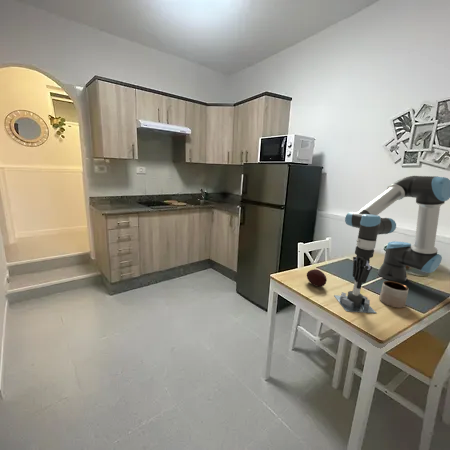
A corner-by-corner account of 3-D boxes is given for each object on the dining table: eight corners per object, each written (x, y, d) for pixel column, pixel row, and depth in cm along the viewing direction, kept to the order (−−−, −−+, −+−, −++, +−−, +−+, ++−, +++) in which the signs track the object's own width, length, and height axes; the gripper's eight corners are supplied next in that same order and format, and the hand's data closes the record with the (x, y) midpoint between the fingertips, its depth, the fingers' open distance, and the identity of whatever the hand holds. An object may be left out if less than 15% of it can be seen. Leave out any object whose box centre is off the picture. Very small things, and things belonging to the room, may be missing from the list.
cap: (356, 300, 121) (358, 291, 119) (363, 307, 114) (365, 297, 113) (344, 299, 121) (346, 290, 120) (350, 306, 114) (352, 296, 113)
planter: (395, 310, 114) (400, 292, 112) (374, 298, 124) (378, 282, 121) (409, 306, 118) (414, 288, 116) (387, 295, 128) (391, 279, 126)
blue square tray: (360, 297, 124) (361, 291, 123) (376, 313, 111) (377, 307, 110) (333, 295, 125) (334, 290, 124) (346, 311, 111) (347, 304, 110)
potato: (319, 291, 128) (321, 275, 126) (301, 282, 138) (303, 267, 136) (329, 288, 133) (331, 272, 131) (311, 279, 143) (313, 264, 140)
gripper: (350, 242, 117) (342, 286, 123) (364, 251, 105) (354, 299, 110) (365, 243, 117) (357, 287, 122) (381, 252, 104) (371, 300, 110)
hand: (356, 293), depth 116 cm, fingers closed
